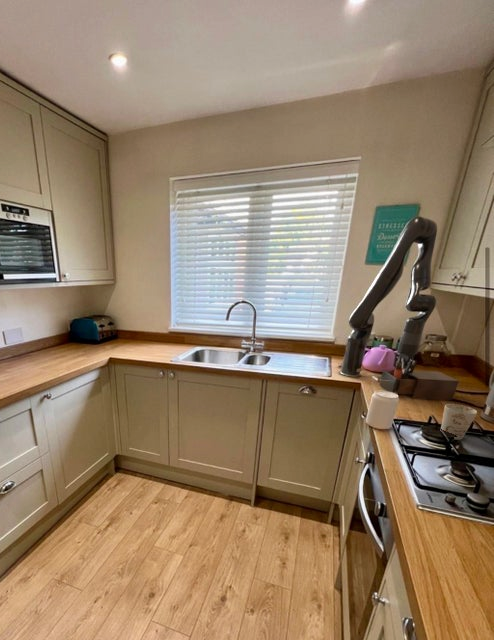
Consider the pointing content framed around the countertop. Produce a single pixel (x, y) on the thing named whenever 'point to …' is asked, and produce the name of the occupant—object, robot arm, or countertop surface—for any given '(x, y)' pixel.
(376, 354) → the teapot
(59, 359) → the countertop surface
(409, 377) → the drawer
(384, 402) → the white canister
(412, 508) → the countertop surface
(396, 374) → the ramekin
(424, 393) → the cabinet
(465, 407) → the mug
